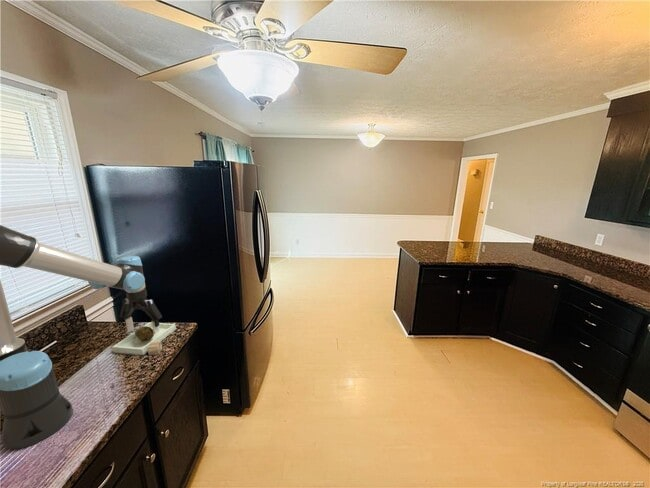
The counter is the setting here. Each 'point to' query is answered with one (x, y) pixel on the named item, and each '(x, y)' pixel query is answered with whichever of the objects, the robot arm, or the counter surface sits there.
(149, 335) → the potato
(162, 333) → the tray
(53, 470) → the counter surface
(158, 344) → the beech block
